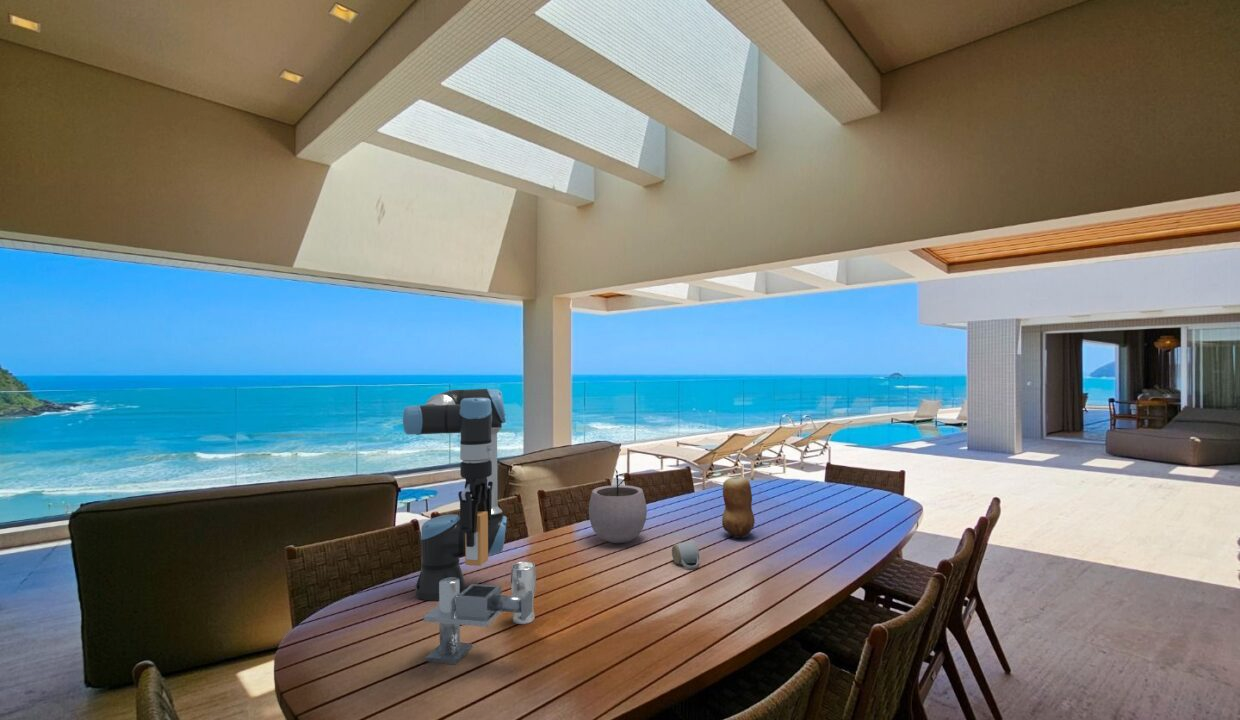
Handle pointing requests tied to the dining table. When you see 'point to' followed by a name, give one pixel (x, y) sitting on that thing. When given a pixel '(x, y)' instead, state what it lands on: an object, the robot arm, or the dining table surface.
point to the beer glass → (523, 586)
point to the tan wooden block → (480, 540)
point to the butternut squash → (737, 507)
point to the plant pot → (617, 512)
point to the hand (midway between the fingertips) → (476, 555)
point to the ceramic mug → (686, 554)
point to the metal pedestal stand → (451, 624)
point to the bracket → (490, 602)
